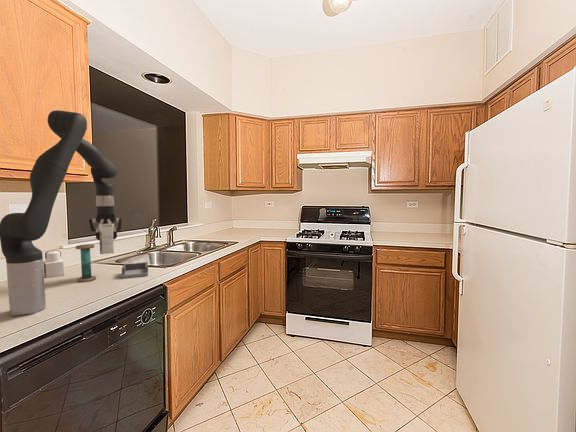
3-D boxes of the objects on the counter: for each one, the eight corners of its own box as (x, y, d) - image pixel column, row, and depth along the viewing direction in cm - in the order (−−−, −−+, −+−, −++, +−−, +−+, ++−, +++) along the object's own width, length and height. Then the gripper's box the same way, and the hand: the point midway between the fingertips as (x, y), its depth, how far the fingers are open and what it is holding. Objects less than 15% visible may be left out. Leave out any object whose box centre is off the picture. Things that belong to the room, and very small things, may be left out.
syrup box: (100, 252, 146) (99, 223, 144) (114, 251, 148) (113, 222, 147) (99, 254, 141) (98, 224, 140) (114, 253, 144) (113, 223, 143)
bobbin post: (94, 281, 134) (92, 246, 133) (75, 283, 131) (74, 247, 130) (97, 277, 141) (95, 243, 139) (79, 278, 138) (77, 245, 137)
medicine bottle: (44, 275, 144) (42, 251, 143) (62, 272, 149) (60, 249, 148) (45, 278, 139) (44, 253, 138) (64, 275, 144) (63, 251, 143)
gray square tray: (147, 276, 143) (147, 266, 142) (121, 278, 138) (121, 269, 138) (148, 270, 153) (147, 262, 152) (124, 273, 148) (123, 264, 148)
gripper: (86, 205, 136) (87, 241, 138) (121, 205, 143) (123, 239, 144) (89, 205, 143) (90, 239, 144) (122, 204, 149) (124, 237, 150)
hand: (106, 239), depth 144 cm, fingers closed on syrup box, 6 cm apart
